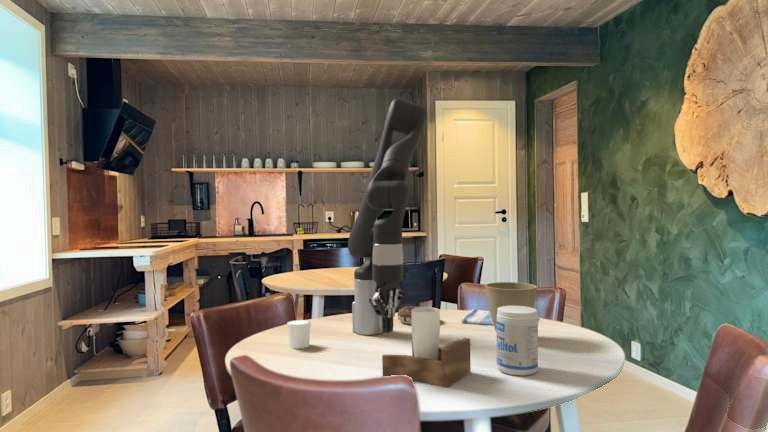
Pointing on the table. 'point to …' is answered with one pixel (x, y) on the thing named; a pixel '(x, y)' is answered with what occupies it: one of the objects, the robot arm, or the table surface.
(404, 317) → the donut
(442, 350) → the holder
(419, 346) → the drinking glass
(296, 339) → the white cup
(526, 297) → the plant pot
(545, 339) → the table surface
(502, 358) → the supplement tub
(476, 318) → the dish towel
